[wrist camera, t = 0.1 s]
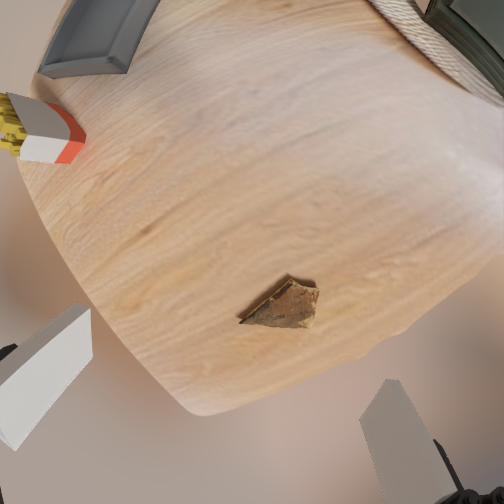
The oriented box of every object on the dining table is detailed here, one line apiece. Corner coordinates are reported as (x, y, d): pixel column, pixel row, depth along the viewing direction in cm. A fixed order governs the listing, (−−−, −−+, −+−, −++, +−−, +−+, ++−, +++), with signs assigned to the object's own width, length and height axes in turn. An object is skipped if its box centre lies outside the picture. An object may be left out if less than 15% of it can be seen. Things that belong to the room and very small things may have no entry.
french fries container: (77, 166, 36) (-7, 165, 18) (51, 128, 34) (-24, 117, 17) (94, 144, 35) (9, 132, 17) (66, 107, 33) (-9, 88, 16)
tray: (93, -2, 27) (81, -13, 22) (169, -15, 27) (160, -30, 22) (53, 78, 32) (37, 72, 27) (126, 73, 32) (111, 62, 27)
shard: (239, 319, 41) (238, 324, 39) (243, 271, 39) (242, 275, 37) (310, 325, 40) (312, 331, 39) (319, 278, 38) (321, 283, 37)
